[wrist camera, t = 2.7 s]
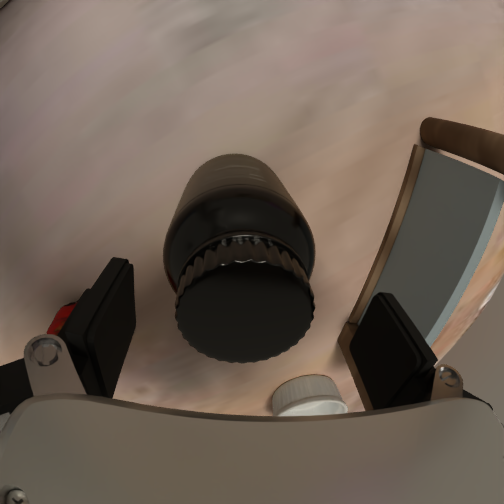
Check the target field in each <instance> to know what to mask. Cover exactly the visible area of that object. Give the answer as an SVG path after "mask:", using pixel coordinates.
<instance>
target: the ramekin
mask: <svg viewBox="0 0 504 504" xmlns="http://www.w3.org/2000/svg"><path fill="white" fill-rule="evenodd" d="M272 404H273V416H312V415H330V414H343V413H347V411H348V407H347V405H346V403H345V402H344V401H343V399H342V397H341V395H340V393H339V390H338V388H337V386H336V384H335V383H334V382H333V380H331V379H330V378H328V377H326V376H322V375H307V376H301V377H298V378H295V379H292V380H290V381H288V382H286V383H284V384H283V385H281V386H280V387H279V388H278V389H277V390H276V391H275V393H274V395H273V398H272Z"/></svg>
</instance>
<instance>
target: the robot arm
mask: <svg viewBox="0 0 504 504" xmlns="http://www.w3.org/2000/svg"><path fill="white" fill-rule="evenodd" d="M8 1H9V0H0V8H1V7H3V6H4V5H5V4H6V3H7V2H8ZM135 327H136V315H135V298H134V270H133V264H129V261H128V259H122V258H116V257H113V258H112V259H111V260H110V262H109V263H108V265H107V266H106V267H105V269H104V270H103V272H102V273H101V275H100V276H99V278H98V279H97V281H96V282H95V284H94V285H93V287H92V288H91V289H86V290H85V292H84V293H83V295H82V296H81V298H80V299H79V301H78V302H77V304H76V305H75V307H74V308H73V310H72V312H71V313H70V315H69V316H68V318H67V320H66V321H65V323H64V325H63V326H62V328H61V330H60V331H59V333H58V335H57V336H55V335H53V334H42V335H39V336H36V337H34V338H33V339H31V340H30V341H29V342H28V343H27V345H26V346H25V349H24V358H22V359H19V360H16V361H14V362H11V363H8V364H5V365H2V366H0V504H504V425H503V424H502V423H501V422H500V421H499V420H498V418H497V416H496V415H495V414H494V412H493V408H492V407H491V405H490V404H489V403H486V402H485V401H483V400H481V399H479V398H477V397H476V396H474V395H472V394H470V393H468V392H467V391H465V390H463V379H462V377H461V375H460V374H459V372H458V371H457V370H456V369H454V368H453V367H451V366H449V365H445V364H441V365H439V366H438V367H437V368H436V369H435V368H434V365H435V363H436V362H437V361H438V359H437V357H436V356H435V354H434V353H433V351H432V350H431V348H430V347H429V345H428V344H427V342H426V341H425V339H424V338H423V336H422V335H421V333H420V332H419V330H418V329H417V327H416V326H415V325H414V323H413V322H412V320H411V319H410V317H409V316H408V315H407V313H406V312H405V310H404V309H403V308H402V306H401V305H400V303H399V302H398V301H397V299H396V298H395V297H394V295H393V294H392V293H386V292H378V293H377V294H376V295H374V296H373V298H372V300H371V302H370V304H369V306H368V308H367V310H366V312H365V314H364V316H363V318H362V320H361V322H360V324H359V326H358V328H357V330H356V332H355V334H354V336H353V338H352V340H351V342H350V345H349V350H350V353H351V355H352V358H353V360H354V362H355V365H356V367H357V370H358V372H359V374H360V377H361V379H362V382H363V384H364V387H365V389H366V392H367V394H368V397H369V399H370V402H371V404H372V407H373V410H371V411H363V412H353V413H343V414H330V415H312V416H246V415H228V414H215V413H204V412H195V411H186V410H179V409H171V408H164V407H157V406H151V405H145V404H139V403H134V402H129V401H123V400H117V399H112V398H113V395H114V391H115V388H116V385H117V381H118V378H119V375H120V372H121V369H122V366H123V363H124V360H125V357H126V354H127V351H128V348H129V345H130V342H131V339H132V336H133V334H134V331H135Z"/></svg>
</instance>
